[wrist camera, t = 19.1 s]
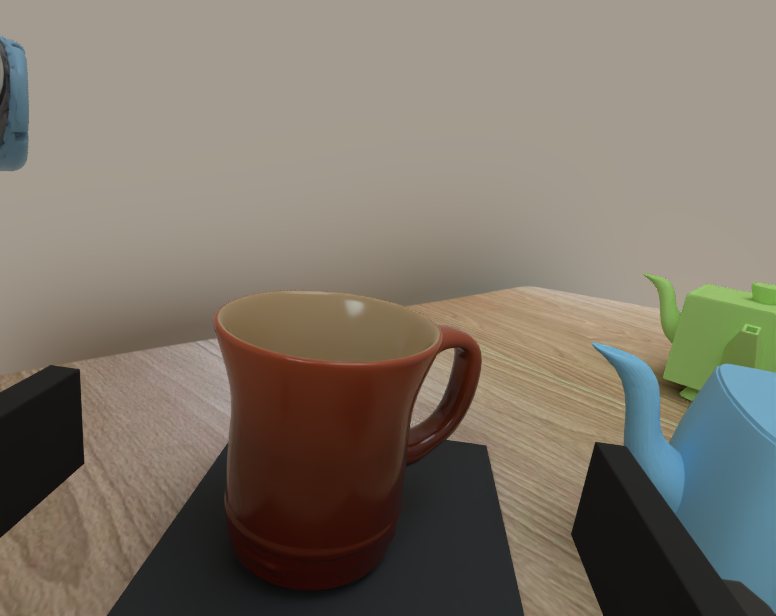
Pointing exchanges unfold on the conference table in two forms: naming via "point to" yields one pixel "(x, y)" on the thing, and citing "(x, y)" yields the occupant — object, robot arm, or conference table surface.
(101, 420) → the conference table surface
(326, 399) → the mug
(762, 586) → the teapot
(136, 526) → the conference table surface
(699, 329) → the kettle
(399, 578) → the front mat
